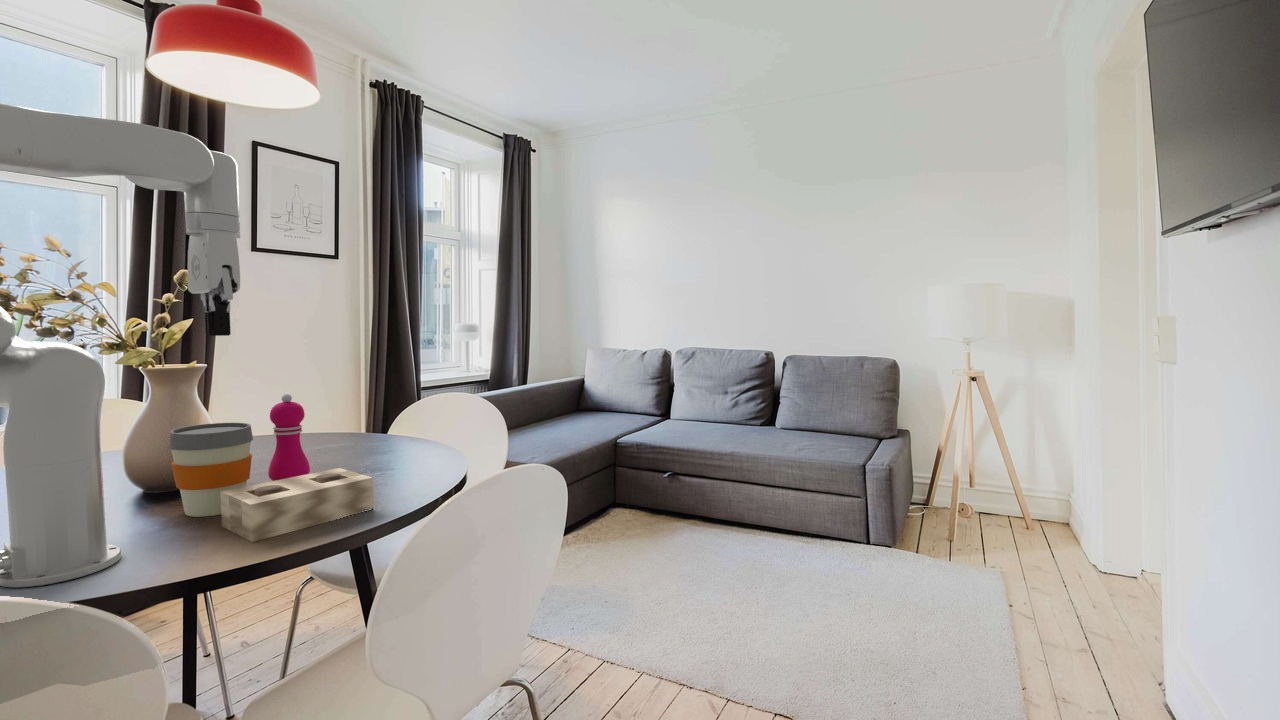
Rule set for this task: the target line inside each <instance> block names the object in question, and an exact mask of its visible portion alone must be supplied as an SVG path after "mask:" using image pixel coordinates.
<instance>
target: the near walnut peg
mask: <svg viewBox="0 0 1280 720" xmlns="http://www.w3.org/2000/svg"><path fill="white" fill-rule="evenodd" d="M254 491H255V496H258V497H260V496H265V495H270V494H274V493H279V492H283V489H282V486H280V485H270V486H263V487H259V488H257V489H255V490H254Z"/></svg>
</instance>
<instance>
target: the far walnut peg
mask: <svg viewBox="0 0 1280 720" xmlns="http://www.w3.org/2000/svg"><path fill="white" fill-rule="evenodd" d="M340 479H341V474H338V473H329V474H322V475H319V476H317V477H316V482H319V483H326V482H330V481H335V480H340Z"/></svg>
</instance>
